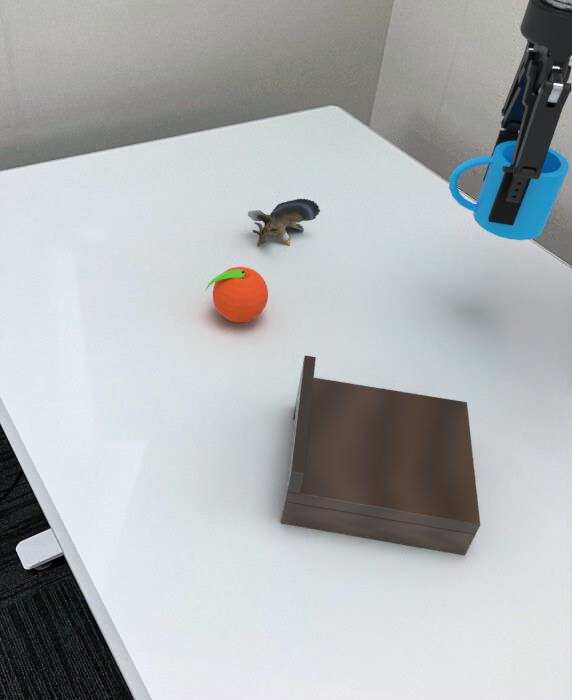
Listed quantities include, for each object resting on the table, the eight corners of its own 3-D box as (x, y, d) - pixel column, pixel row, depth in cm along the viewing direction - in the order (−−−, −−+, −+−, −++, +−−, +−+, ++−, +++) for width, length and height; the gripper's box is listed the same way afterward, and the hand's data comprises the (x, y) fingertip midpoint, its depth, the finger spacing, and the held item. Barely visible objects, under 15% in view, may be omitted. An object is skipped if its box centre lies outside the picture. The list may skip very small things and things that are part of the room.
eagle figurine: (288, 258, 107) (329, 224, 110) (266, 212, 104) (309, 179, 108) (254, 259, 113) (294, 227, 117) (233, 216, 110) (275, 185, 114)
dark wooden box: (454, 432, 86) (475, 382, 81) (465, 555, 75) (490, 505, 69) (294, 406, 88) (304, 354, 82) (280, 523, 76) (291, 472, 70)
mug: (540, 208, 94) (565, 147, 89) (545, 245, 88) (573, 182, 83) (441, 191, 95) (459, 129, 90) (439, 226, 90) (459, 163, 84)
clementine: (208, 337, 95) (212, 291, 90) (197, 301, 100) (200, 256, 95) (271, 331, 97) (277, 286, 92) (257, 296, 102) (263, 252, 97)
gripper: (521, -38, 83) (461, 154, 98) (545, 31, 67) (469, 246, 83) (592, -29, 82) (521, 163, 98) (633, 44, 67) (540, 258, 82)
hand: (497, 201), depth 90 cm, fingers closed on mug, 8 cm apart
